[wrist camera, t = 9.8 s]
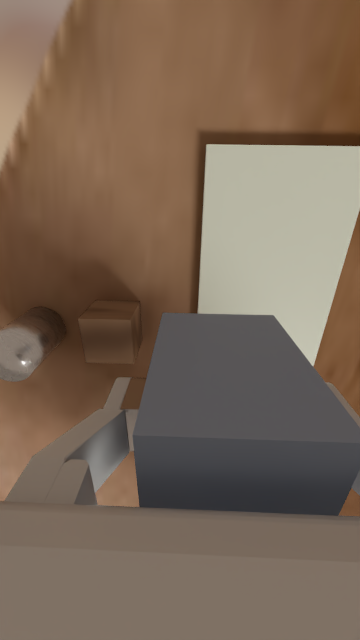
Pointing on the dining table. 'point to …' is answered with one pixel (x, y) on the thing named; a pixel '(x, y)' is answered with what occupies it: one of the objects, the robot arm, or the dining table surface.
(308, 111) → the dining table surface
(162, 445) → the slate blue block
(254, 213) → the sage board
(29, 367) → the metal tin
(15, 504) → the robot arm
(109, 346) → the walnut block
